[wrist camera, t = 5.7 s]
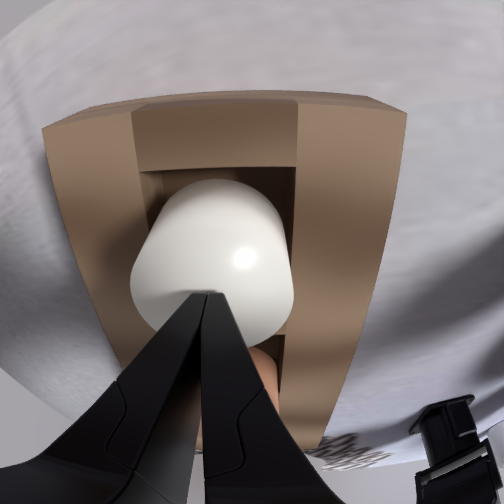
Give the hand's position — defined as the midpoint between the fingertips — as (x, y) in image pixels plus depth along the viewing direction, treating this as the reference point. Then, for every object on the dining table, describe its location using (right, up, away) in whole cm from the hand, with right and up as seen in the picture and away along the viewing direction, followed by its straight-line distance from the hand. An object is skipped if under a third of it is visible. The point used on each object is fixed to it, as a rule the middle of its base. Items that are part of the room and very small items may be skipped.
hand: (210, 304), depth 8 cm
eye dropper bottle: (+42, -27, +27) cm, 57 cm away
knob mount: (0, -2, +10) cm, 10 cm away
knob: (0, +2, +3) cm, 3 cm away
